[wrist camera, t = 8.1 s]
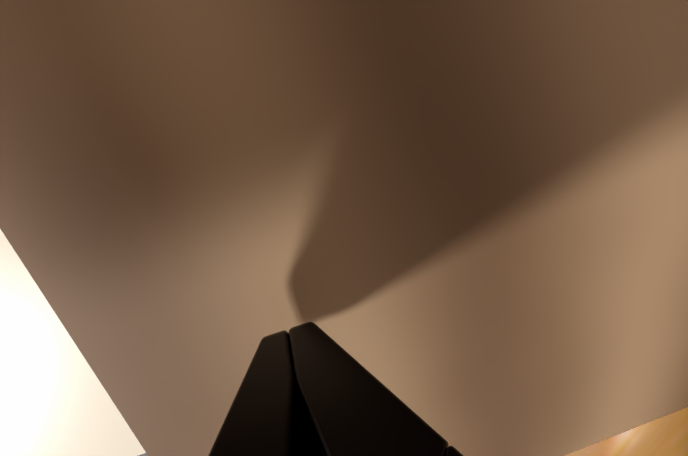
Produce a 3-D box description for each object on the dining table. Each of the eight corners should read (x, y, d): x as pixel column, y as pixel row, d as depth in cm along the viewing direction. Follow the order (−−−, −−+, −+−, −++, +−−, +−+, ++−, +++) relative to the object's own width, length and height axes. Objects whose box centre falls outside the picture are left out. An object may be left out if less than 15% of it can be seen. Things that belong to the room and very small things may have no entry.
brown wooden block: (679, -228, 9) (954, -367, 6) (621, 304, 16) (734, 388, 12) (-39, -86, 8) (-254, -162, 4) (229, 444, 14) (232, 586, 11)
